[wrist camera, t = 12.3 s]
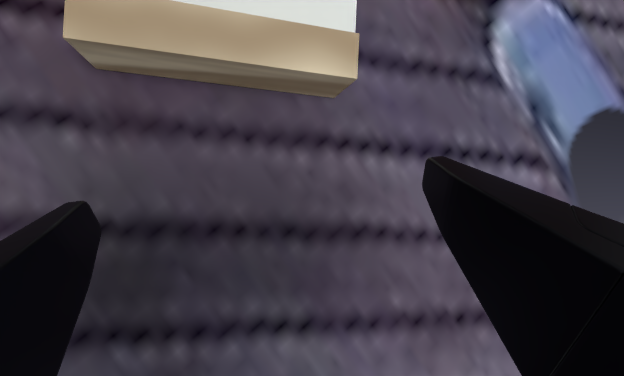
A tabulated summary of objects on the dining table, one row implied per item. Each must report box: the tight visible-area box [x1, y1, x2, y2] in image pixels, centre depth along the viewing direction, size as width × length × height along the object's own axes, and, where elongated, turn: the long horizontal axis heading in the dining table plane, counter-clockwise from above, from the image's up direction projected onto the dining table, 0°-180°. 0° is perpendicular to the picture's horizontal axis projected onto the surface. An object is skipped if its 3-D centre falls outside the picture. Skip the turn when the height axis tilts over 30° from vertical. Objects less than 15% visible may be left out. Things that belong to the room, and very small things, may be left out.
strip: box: [63, 0, 359, 98], centre depth 19 cm, size 2×14×4 cm, turn 87°
